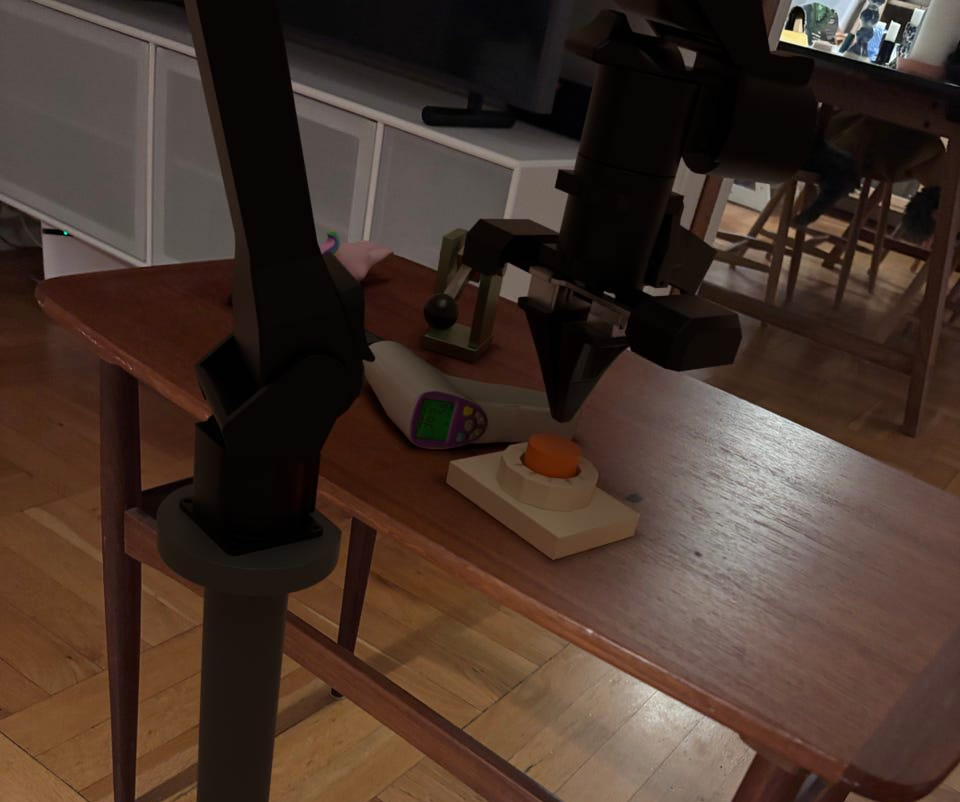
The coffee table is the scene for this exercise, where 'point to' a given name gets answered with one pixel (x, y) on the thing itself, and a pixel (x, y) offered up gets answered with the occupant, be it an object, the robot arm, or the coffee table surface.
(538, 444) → the button
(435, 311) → the switch lever
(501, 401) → the infrared thermometer
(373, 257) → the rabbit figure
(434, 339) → the switch bracket
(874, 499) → the coffee table surface
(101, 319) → the coffee table surface
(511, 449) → the button box
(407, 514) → the coffee table surface
